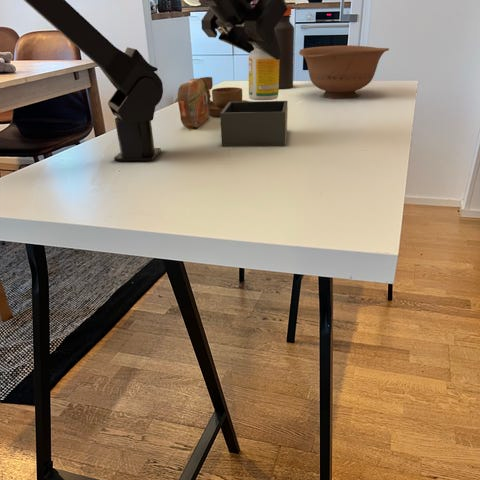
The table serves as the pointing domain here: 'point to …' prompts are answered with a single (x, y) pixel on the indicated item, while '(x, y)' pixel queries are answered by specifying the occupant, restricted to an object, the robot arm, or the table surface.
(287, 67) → the brown bottle
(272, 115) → the bin
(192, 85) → the tin
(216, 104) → the place setting
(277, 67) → the supplement bottle
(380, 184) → the table surface
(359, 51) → the bowl
